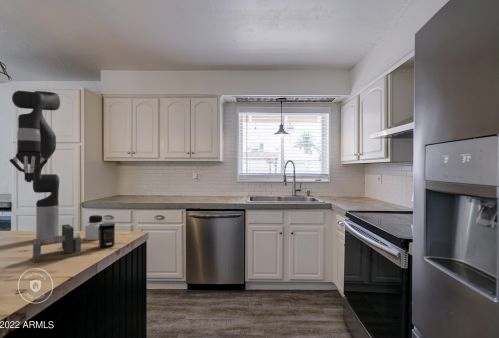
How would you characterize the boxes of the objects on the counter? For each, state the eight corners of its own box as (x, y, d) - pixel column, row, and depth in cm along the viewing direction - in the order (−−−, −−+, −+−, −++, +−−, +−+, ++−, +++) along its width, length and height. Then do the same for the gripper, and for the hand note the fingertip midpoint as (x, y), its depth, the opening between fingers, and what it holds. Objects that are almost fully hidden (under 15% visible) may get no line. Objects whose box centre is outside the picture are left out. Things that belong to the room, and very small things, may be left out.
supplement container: (110, 243, 139) (110, 222, 139) (117, 246, 135) (117, 224, 135) (96, 246, 134) (96, 224, 134) (102, 249, 130) (102, 226, 130)
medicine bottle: (98, 240, 145) (98, 216, 145) (84, 240, 145) (84, 216, 145) (105, 236, 152) (106, 214, 152) (92, 236, 152) (92, 214, 152)
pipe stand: (32, 258, 116) (32, 236, 116) (77, 250, 127) (77, 231, 127) (34, 263, 110) (35, 240, 110) (81, 254, 121) (81, 234, 121)
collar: (61, 247, 124) (62, 225, 124) (68, 246, 126) (68, 224, 126) (66, 253, 117) (66, 228, 117) (73, 252, 118) (73, 228, 118)
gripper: (47, 141, 125) (47, 181, 125) (7, 139, 116) (7, 182, 116) (49, 140, 119) (49, 182, 119) (8, 138, 110) (8, 183, 110)
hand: (28, 182), depth 118 cm, fingers closed
